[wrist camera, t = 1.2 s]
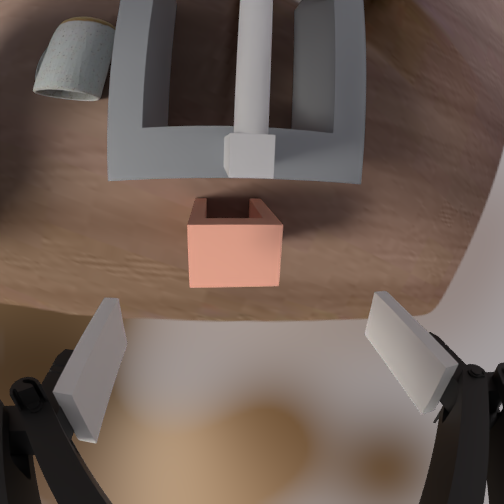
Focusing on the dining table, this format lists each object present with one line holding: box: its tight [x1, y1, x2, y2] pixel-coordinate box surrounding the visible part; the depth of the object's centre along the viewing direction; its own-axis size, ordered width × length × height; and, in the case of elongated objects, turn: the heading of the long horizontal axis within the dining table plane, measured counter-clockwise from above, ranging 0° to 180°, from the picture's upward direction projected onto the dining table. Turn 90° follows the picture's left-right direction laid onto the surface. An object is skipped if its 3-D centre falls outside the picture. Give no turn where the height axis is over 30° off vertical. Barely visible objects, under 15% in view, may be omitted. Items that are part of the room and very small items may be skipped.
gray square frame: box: [107, 0, 366, 184], centre depth 19 cm, size 18×19×19 cm
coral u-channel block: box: [187, 198, 283, 288], centre depth 28 cm, size 7×5×11 cm
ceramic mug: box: [33, 16, 116, 101], centre depth 21 cm, size 11×8×8 cm
